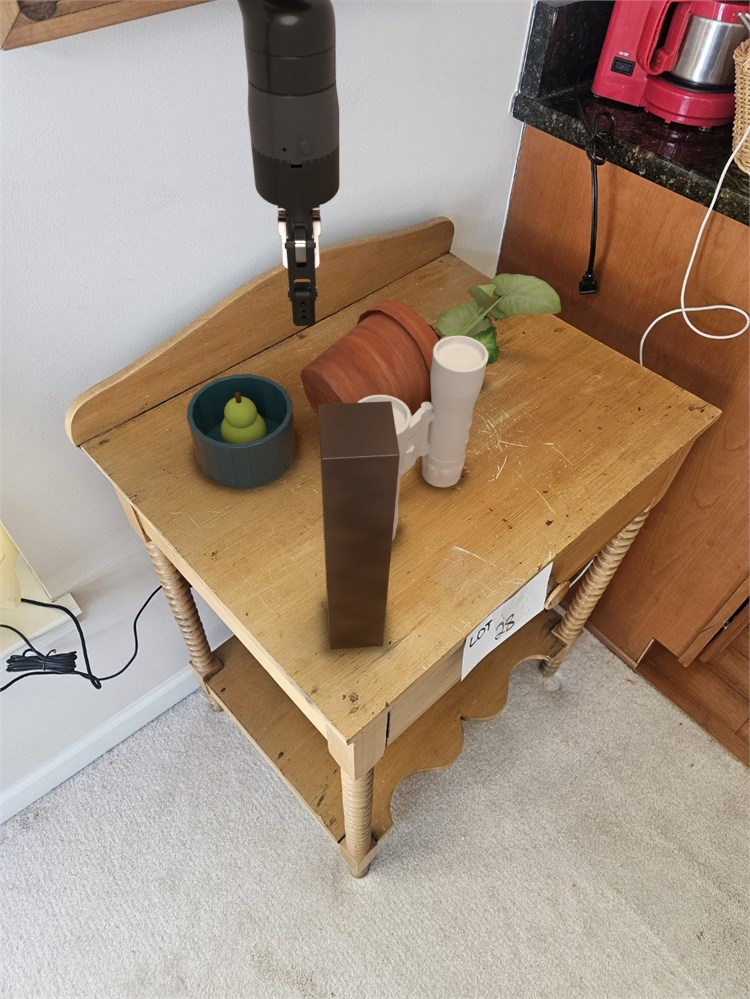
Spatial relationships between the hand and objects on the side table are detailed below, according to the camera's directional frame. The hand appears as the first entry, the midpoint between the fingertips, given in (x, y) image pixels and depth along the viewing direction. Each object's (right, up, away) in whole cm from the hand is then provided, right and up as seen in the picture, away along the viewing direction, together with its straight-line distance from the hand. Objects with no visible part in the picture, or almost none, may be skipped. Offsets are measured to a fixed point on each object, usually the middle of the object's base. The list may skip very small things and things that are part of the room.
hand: (303, 297), depth 72 cm
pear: (-8, -15, +11) cm, 20 cm away
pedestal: (+5, -33, -2) cm, 34 cm away
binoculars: (+11, -21, +8) cm, 25 cm away
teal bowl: (-8, -15, +12) cm, 21 cm away
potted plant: (+14, -6, +20) cm, 25 cm away
